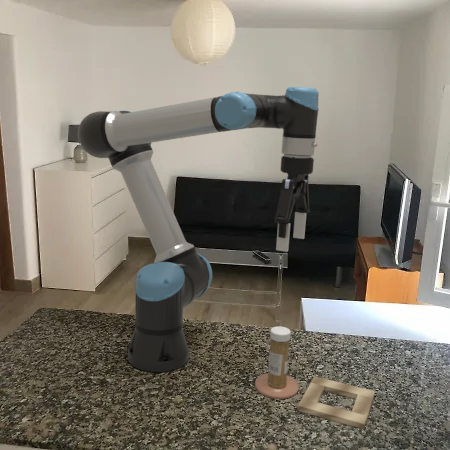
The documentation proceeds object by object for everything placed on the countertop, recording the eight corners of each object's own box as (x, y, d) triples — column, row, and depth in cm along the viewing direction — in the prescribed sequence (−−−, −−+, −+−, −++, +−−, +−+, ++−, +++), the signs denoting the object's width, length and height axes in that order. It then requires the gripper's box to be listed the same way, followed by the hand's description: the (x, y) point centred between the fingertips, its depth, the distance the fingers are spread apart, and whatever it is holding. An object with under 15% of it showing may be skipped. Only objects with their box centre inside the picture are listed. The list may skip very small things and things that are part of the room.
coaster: (248, 391, 118) (248, 388, 118) (263, 372, 127) (263, 369, 127) (291, 403, 114) (291, 400, 114) (303, 382, 123) (303, 379, 123)
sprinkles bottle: (290, 385, 120) (295, 331, 117) (275, 391, 117) (279, 335, 114) (278, 376, 124) (282, 324, 121) (262, 381, 121) (266, 328, 118)
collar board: (297, 410, 112) (297, 405, 112) (314, 380, 124) (314, 376, 124) (363, 429, 106) (364, 424, 106) (374, 396, 119) (374, 391, 119)
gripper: (298, 161, 109) (290, 259, 114) (326, 153, 131) (318, 235, 136) (264, 158, 112) (258, 254, 117) (297, 151, 134) (291, 231, 139)
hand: (290, 244), depth 126 cm, fingers open, 13 cm apart
